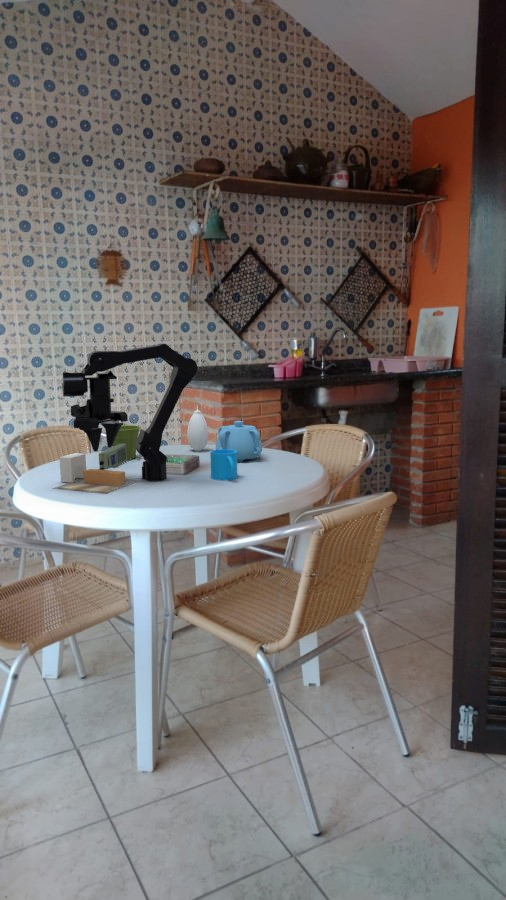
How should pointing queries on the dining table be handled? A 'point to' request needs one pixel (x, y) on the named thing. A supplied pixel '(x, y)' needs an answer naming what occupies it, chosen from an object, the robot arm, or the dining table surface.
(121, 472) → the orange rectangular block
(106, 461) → the handheld radio
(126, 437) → the plant pot
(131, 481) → the board
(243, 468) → the dining table surface
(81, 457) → the block
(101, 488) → the pad
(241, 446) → the decorative pot
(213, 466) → the mug
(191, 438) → the white air blower
